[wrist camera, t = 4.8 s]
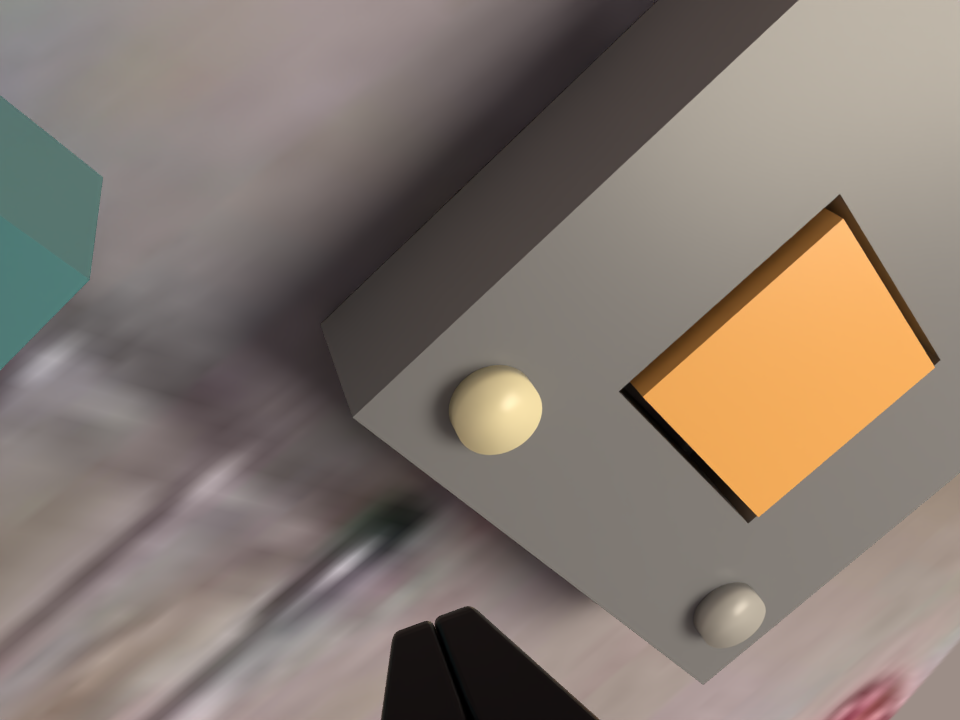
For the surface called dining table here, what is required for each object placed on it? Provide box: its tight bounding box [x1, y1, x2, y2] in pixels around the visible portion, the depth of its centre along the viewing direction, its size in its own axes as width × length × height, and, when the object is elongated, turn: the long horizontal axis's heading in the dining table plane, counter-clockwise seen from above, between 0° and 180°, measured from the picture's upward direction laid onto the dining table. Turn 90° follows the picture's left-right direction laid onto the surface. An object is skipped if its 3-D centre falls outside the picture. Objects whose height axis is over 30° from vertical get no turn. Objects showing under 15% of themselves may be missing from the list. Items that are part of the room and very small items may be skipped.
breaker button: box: [630, 208, 935, 517], centre depth 21 cm, size 5×5×2 cm
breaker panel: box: [320, 0, 960, 685], centre depth 22 cm, size 14×14×4 cm
